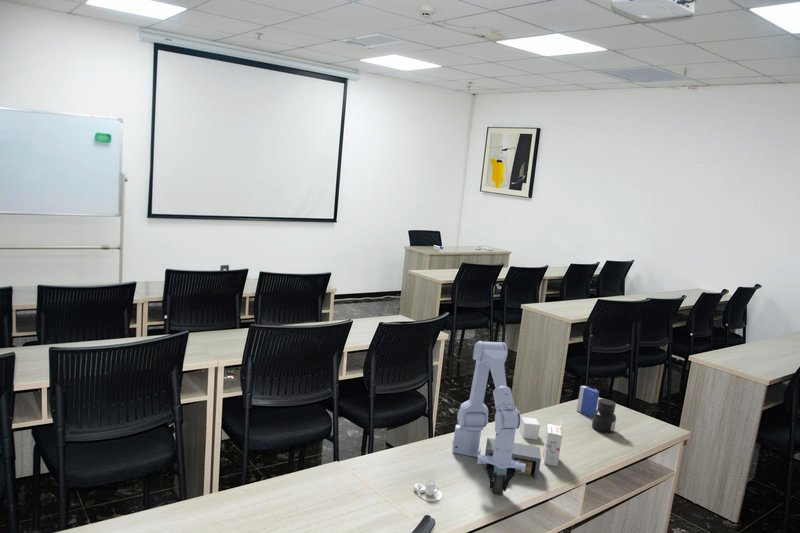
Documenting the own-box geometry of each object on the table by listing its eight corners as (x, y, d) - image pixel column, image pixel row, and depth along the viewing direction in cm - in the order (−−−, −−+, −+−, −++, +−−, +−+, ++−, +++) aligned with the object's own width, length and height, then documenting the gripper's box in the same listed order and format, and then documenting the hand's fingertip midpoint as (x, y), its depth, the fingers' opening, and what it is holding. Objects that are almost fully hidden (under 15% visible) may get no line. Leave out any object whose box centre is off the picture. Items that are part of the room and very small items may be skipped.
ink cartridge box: (542, 453, 214) (548, 415, 212) (556, 456, 213) (562, 417, 211) (543, 464, 206) (549, 424, 203) (557, 466, 205) (564, 427, 203)
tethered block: (488, 493, 181) (491, 475, 180) (492, 470, 196) (494, 453, 196) (504, 497, 180) (507, 478, 179) (507, 473, 195) (509, 457, 194)
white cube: (534, 432, 232) (536, 418, 231) (538, 439, 226) (540, 424, 225) (519, 431, 232) (521, 417, 231) (522, 438, 226) (524, 423, 225)
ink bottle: (617, 435, 238) (622, 407, 237) (595, 433, 238) (600, 405, 237) (609, 425, 248) (613, 398, 246) (588, 423, 248) (592, 396, 246)
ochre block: (515, 472, 197) (517, 459, 197) (515, 465, 202) (516, 453, 202) (530, 474, 197) (532, 462, 196) (529, 468, 202) (531, 455, 201)
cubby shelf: (483, 468, 197) (486, 448, 196) (484, 457, 206) (487, 437, 205) (537, 479, 194) (540, 458, 193) (536, 466, 203) (539, 447, 202)
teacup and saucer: (409, 490, 179) (410, 478, 178) (429, 485, 183) (430, 472, 183) (427, 505, 172) (429, 492, 171) (447, 498, 176) (449, 486, 176)
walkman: (595, 416, 257) (599, 390, 255) (591, 417, 255) (596, 391, 253) (579, 410, 263) (583, 384, 261) (576, 411, 261) (580, 385, 259)
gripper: (479, 448, 177) (473, 490, 179) (527, 457, 175) (521, 499, 177) (480, 438, 184) (475, 479, 186) (527, 447, 182) (521, 488, 184)
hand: (497, 488), depth 182 cm, fingers closed on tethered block, 4 cm apart
